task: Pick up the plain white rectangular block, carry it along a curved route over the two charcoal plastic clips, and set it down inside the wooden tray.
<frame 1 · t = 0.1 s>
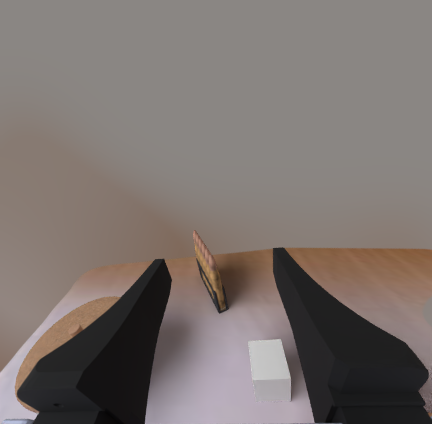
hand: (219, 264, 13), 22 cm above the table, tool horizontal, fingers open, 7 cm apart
lidded bowl: (111, 378, 27), on the table
plain white rectangular block: (269, 380, 24), on the table
ammunition clip: (213, 291, 39), on the table
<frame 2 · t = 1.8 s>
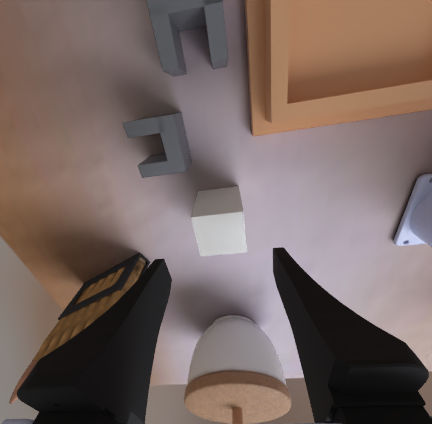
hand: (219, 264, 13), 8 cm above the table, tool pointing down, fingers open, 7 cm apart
lidded bowl: (233, 326, 31), on the table
plain white rectangular block: (220, 206, 20), on the table
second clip: (195, 43, 13), on the table
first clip: (164, 141, 17), on the table
ammunition clip: (116, 272, 25), on the table
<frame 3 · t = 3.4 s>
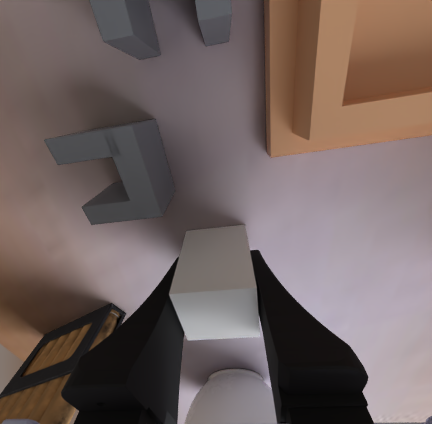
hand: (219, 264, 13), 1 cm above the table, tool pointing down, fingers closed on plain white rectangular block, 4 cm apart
lidded bowl: (235, 379, 25), on the table
plain white rectangular block: (219, 250, 14), on the table, touching gripper
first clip: (132, 163, 11), on the table
ammunition clip: (84, 322, 20), on the table
when the fingers open (3 cm above the table, at t = 8.1 s): plain white rectangular block stays where it is, resting on wooden tray.
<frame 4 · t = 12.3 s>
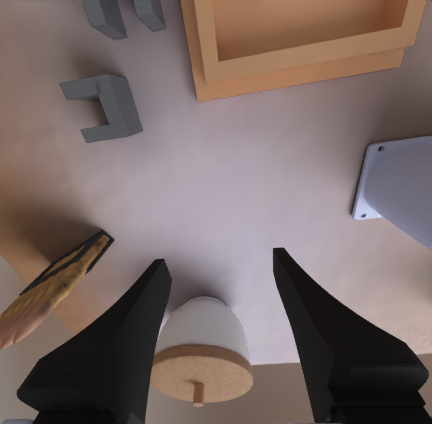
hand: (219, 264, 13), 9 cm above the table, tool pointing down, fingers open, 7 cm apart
lidded bowl: (205, 309, 31), on the table
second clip: (132, 4, 13), on the table
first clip: (113, 110, 17), on the table
ammunition clip: (82, 251, 25), on the table
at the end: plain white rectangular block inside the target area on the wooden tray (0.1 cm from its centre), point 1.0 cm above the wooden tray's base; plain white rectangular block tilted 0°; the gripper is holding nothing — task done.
